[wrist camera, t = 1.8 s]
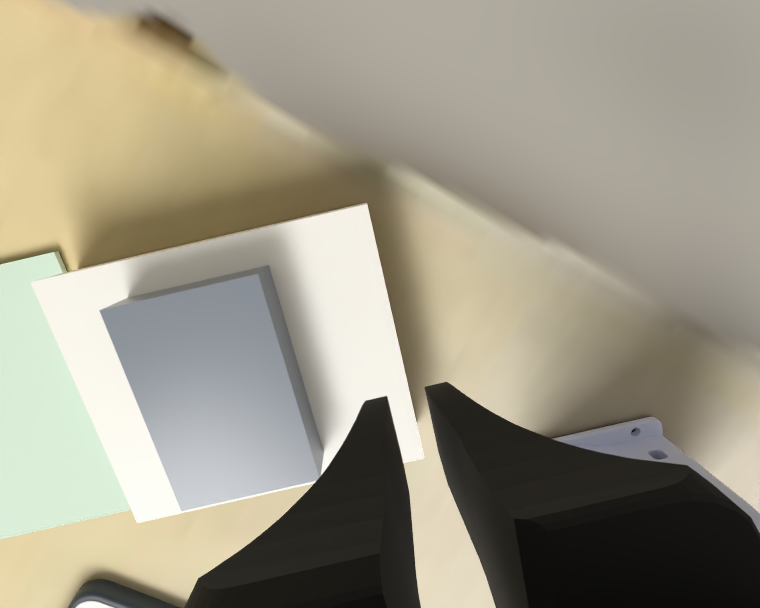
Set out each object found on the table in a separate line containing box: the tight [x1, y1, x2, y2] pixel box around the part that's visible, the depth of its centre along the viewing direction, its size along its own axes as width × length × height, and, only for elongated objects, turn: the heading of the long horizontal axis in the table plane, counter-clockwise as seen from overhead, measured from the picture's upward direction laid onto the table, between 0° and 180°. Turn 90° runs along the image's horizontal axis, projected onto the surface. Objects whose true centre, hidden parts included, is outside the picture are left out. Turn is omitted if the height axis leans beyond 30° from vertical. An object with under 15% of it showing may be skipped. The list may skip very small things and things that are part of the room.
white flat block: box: [30, 203, 424, 523], centre depth 20 cm, size 14×12×3 cm
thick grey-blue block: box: [99, 265, 324, 511], centre depth 18 cm, size 6×9×2 cm, turn 13°
